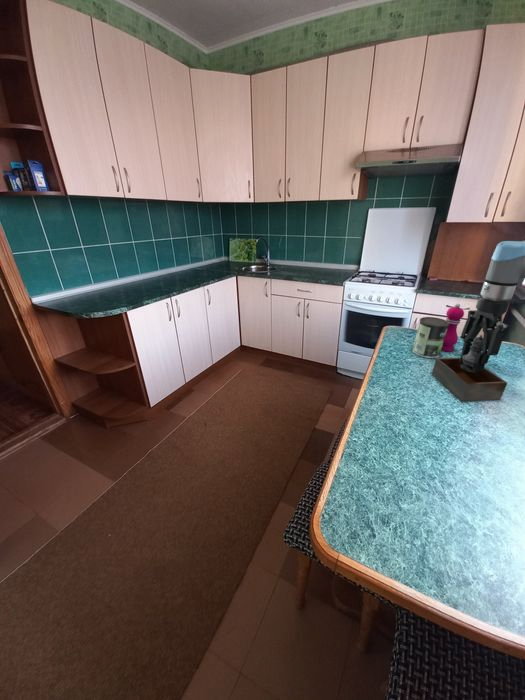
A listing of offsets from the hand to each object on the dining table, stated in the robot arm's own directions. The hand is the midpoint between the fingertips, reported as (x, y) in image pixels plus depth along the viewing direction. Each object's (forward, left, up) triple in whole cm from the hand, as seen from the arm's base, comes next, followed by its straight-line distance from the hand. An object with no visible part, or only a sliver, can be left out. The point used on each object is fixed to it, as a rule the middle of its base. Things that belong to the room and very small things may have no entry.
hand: (470, 365), depth 95 cm
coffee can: (-1, -25, -8) cm, 26 cm away
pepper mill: (-11, -28, -8) cm, 31 cm away
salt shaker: (0, 0, -1) cm, 1 cm away
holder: (0, 0, -8) cm, 8 cm away
